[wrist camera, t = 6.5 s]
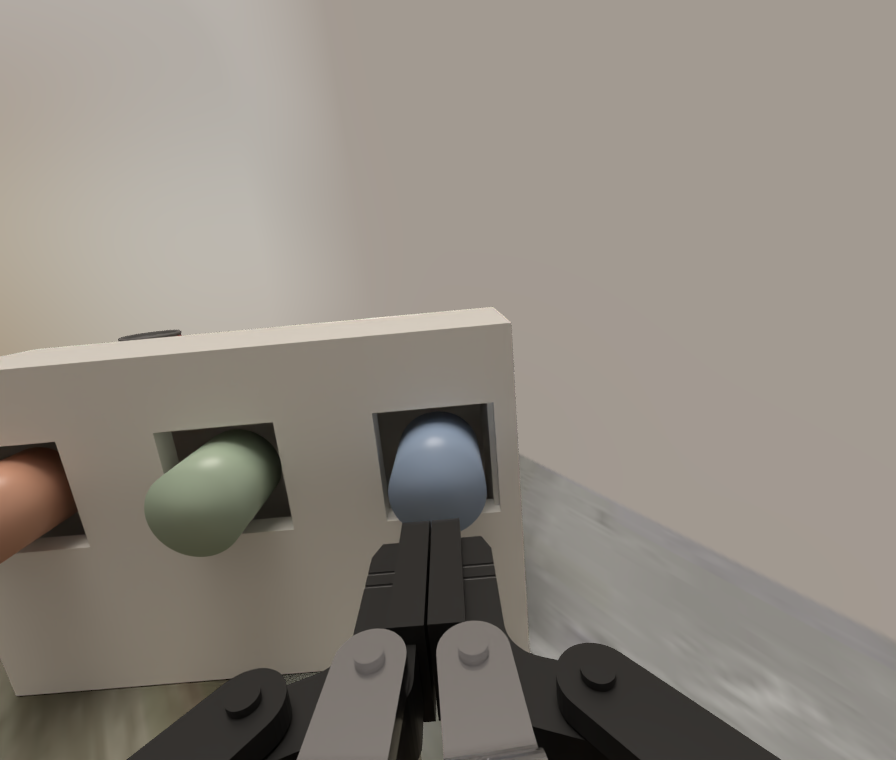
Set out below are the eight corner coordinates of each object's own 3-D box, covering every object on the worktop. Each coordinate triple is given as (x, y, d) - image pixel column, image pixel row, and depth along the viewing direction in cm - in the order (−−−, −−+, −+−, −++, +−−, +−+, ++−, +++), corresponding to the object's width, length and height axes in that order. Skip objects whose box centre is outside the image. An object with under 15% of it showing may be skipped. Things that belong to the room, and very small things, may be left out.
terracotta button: (-76, 580, 15) (-113, 495, 14) (21, 521, 19) (-5, 450, 18) (17, 572, 15) (-15, 487, 14) (97, 515, 19) (74, 443, 18)
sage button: (158, 560, 15) (132, 474, 14) (211, 505, 19) (193, 433, 18) (252, 552, 15) (231, 465, 14) (288, 498, 19) (273, 426, 18)
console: (16, 695, 19) (-116, 380, 16) (115, 595, 25) (35, 349, 22) (529, 654, 19) (511, 322, 15) (509, 562, 25) (492, 306, 21)
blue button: (394, 540, 15) (382, 451, 14) (403, 488, 18) (394, 415, 18) (490, 532, 15) (483, 442, 14) (481, 481, 18) (475, 407, 18)
